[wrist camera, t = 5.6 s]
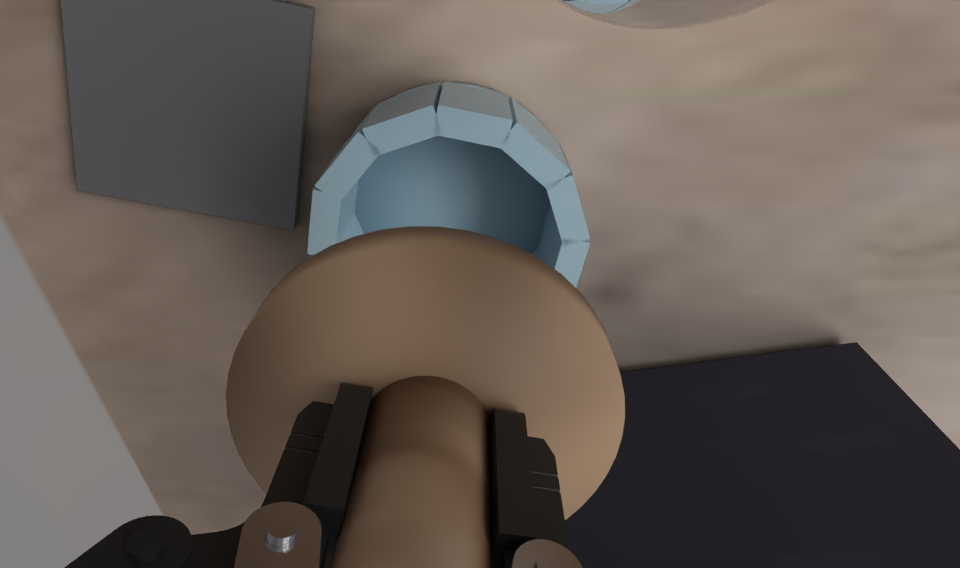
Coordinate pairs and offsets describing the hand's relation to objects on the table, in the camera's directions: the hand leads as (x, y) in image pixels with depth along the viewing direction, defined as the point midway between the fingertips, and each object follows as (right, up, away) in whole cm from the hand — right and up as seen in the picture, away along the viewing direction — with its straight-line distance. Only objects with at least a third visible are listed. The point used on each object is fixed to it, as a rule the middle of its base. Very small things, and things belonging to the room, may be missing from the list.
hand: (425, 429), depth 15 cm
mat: (-10, +11, +11) cm, 19 cm away
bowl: (0, +7, +13) cm, 15 cm away
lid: (0, +1, +1) cm, 1 cm away
